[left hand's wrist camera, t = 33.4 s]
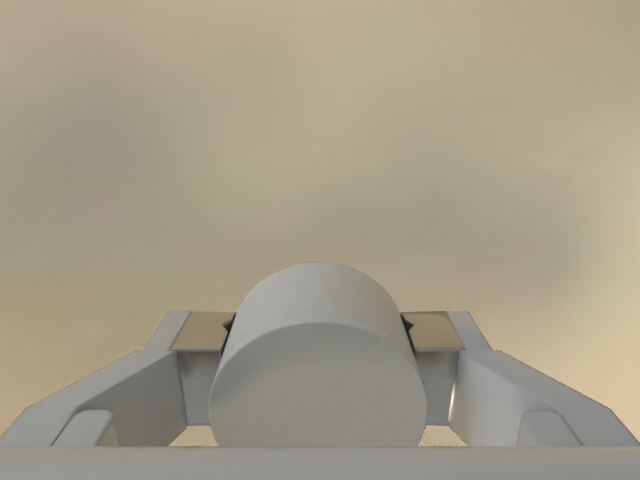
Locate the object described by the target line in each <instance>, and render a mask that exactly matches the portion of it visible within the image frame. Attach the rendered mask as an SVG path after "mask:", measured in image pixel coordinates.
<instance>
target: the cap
mask: <svg viewBox="0 0 640 480" xmlns="http://www.w3.org/2000/svg"><path fill="white" fill-rule="evenodd" d="M208 414H209V420H210V426H211V429H212V432H213V435H214V438H215V440H216V442H217V444H218V446H418V444H419V442H420V440H421V438H422V435H423V433H424V430H425V427H426V422H427V417H428V399H427V393H426V389H425V386H424V382H423V379H422V376H421V374H420V371H419V368H418V365H417V362H416V359H415V356H414V353H413V350H412V347H411V344H410V341H409V338H408V336H407V333H406V330H405V327H404V324H403V321H402V318H401V315H400V313H399V310H398V308H397V306H396V304H395V303H394V301H393V300H392V298H391V296H390V295H389V294H388V293H387V292H386V291H385V289H384V288H383V287H382V286H380V285H379V284H378V283H377V282H376V281H374V280H373V279H371V278H370V277H368V276H367V275H365V274H363V273H361V272H359V271H357V270H355V269H352V268H349V267H346V266H342V265H339V264H332V263H320V262H319V263H304V264H299V265H294V266H291V267H288V268H284V269H282V270H280V271H277V272H275V273H273V274H271V275H270V276H268V277H266V278H265V279H263V280H262V281H261V282H260V283H258V284H257V285H256V286H255V287H254V288H253V289H252V290H251V291H250V292H249V293H248V294H247V296H246V297H245V298H244V300H243V301H242V303H241V305H240V307H239V309H238V311H237V313H236V316H235V319H234V322H233V325H232V328H231V331H230V334H229V337H228V340H227V343H226V346H225V349H224V352H223V355H222V358H221V361H220V364H219V367H218V370H217V373H216V376H215V379H214V382H213V385H212V388H211V391H210V396H209V402H208Z"/></svg>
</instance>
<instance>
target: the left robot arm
mask: <svg viewBox="0 0 640 480" xmlns="http://www.w3.org/2000/svg"><path fill="white" fill-rule="evenodd" d="M400 315H401V318H402V321H403V324H404V327H405V330H406V333H407V336H408V338H409V341H410V344H411V347H412V350H413V353H414V356H415V359H416V362H417V365H418V368H419V371H420V374H421V376H422V379H423V382H424V386H425V389H426V393H427V399H428V417H427V422H426V425H443V426H450V428H451V429H452V430H453V431H454V432H455V433H456V434H457V435H458V436H459V437H460V438H461V439H462V440H463V441H464V442H465V443H466V444H467V445H468V446H168V445H169V444H170V443H171V442H172V441H173V440H175V439H176V438H177V437H178V436H179V435H180V434H181V433H182V432H183V431H184V430H185V429H186V428H187V426H193V425H210V420H209V414H208V402H209V396H210V391H211V388H212V385H213V382H214V379H215V376H216V373H217V370H218V367H219V364H220V361H221V358H222V355H223V352H224V349H225V346H226V343H227V340H228V337H229V334H230V331H231V328H232V325H233V322H234V319H235V316H236V312H210V311H193V312H192V311H170V312H168V313H167V314H166V316H165V317H164V319H163V320H162V322H161V323H160V325H159V326H158V328H157V330H156V331H155V333H154V334H153V336H152V337H151V339H150V340H149V342H148V343H147V345H146V347H145V348H144V350H136V351H134V352H132V353H130V354H128V355H126V356H125V357H123V358H121V359H119V360H117V361H115V362H113V363H111V364H109V365H107V366H105V367H103V368H102V369H100V370H98V371H96V372H94V373H92V374H90V375H88V376H86V377H84V378H82V379H80V380H79V381H77V382H75V383H73V384H71V385H69V386H67V387H65V388H63V389H61V390H59V391H57V392H56V393H54V394H52V395H50V396H48V397H46V398H44V399H42V400H40V401H38V402H36V403H34V404H33V405H31V406H29V407H27V408H25V409H24V411H23V412H22V413H21V414H20V415H19V416H18V417H17V418H16V420H15V421H14V422H13V423H12V424H11V425H10V426H9V427H8V429H7V430H6V431H5V432H4V433H3V434H2V435H1V436H0V480H640V443H639V441H638V440H637V439H636V438H635V437H634V436H633V434H632V433H631V432H630V431H629V430H628V429H627V427H626V426H625V425H624V424H623V423H622V422H621V421H620V419H619V418H618V417H617V416H616V415H615V414H614V412H613V411H612V410H611V409H610V408H608V407H606V406H604V405H602V404H600V403H598V402H597V401H595V400H593V399H591V398H589V397H587V396H585V395H583V394H581V393H579V392H578V391H576V390H574V389H572V388H570V387H568V386H566V385H564V384H562V383H561V382H559V381H557V380H555V379H553V378H551V377H549V376H547V375H545V374H544V373H542V372H540V371H538V370H536V369H534V368H532V367H530V366H528V365H527V364H525V363H523V362H521V361H519V360H517V359H515V358H513V357H511V356H509V355H508V354H506V353H504V352H502V351H500V350H492V348H491V346H490V345H489V343H488V342H487V340H486V339H485V337H484V336H483V334H482V332H481V331H480V329H479V328H478V326H477V325H476V323H475V322H474V320H473V318H472V317H471V315H470V314H469V312H467V311H433V312H401V313H400Z"/></svg>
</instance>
